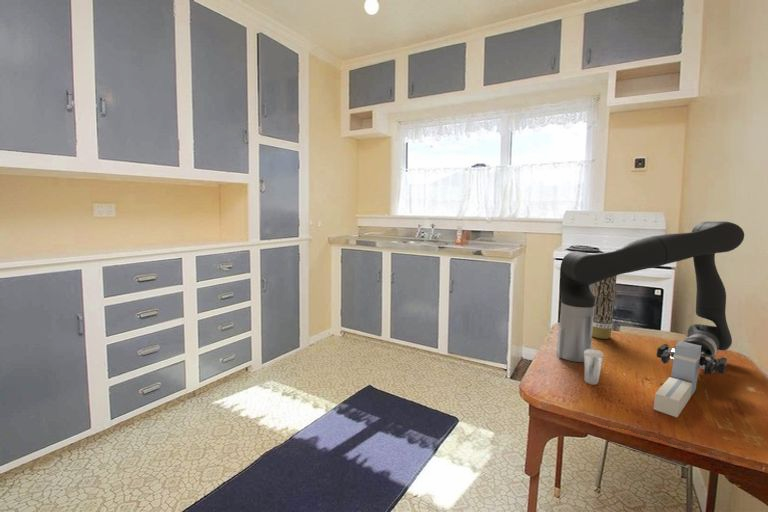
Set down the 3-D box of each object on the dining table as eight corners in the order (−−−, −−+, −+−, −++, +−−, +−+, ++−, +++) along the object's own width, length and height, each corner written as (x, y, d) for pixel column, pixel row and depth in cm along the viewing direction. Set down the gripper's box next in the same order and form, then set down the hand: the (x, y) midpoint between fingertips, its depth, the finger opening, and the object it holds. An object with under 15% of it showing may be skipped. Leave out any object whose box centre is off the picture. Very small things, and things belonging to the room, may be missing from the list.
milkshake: (598, 378, 105) (601, 343, 103) (602, 387, 100) (605, 350, 98) (579, 375, 106) (582, 341, 105) (583, 384, 101) (586, 348, 100)
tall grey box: (674, 383, 102) (679, 340, 100) (696, 389, 99) (701, 345, 97) (669, 389, 99) (674, 345, 97) (691, 396, 95) (697, 350, 94)
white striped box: (669, 389, 98) (671, 374, 98) (691, 396, 95) (693, 380, 95) (653, 409, 89) (655, 392, 88) (677, 417, 86) (679, 400, 85)
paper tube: (585, 333, 141) (591, 267, 138) (602, 333, 142) (608, 267, 138) (597, 340, 135) (603, 270, 131) (615, 339, 135) (621, 270, 132)
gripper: (668, 330, 112) (653, 343, 102) (733, 344, 102) (723, 360, 91) (666, 354, 113) (650, 369, 103) (729, 370, 103) (719, 389, 92)
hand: (684, 365), depth 97 cm, fingers open, 8 cm apart
